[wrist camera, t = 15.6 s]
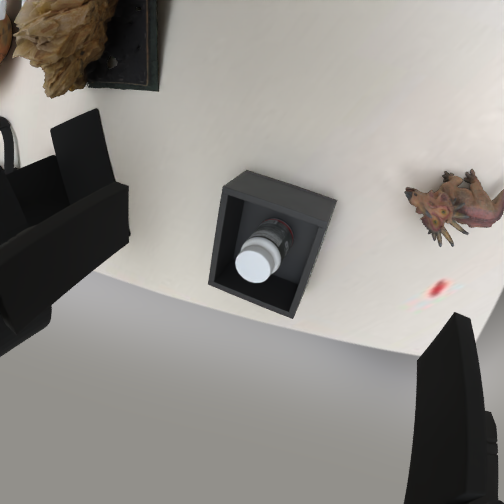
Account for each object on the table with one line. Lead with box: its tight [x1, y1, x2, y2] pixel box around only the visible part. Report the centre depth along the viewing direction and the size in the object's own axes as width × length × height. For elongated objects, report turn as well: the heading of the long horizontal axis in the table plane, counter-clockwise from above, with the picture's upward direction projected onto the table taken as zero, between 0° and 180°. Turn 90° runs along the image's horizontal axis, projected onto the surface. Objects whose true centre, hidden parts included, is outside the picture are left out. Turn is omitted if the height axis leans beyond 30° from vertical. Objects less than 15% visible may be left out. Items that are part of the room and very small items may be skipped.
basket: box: [208, 170, 337, 319], centre depth 39 cm, size 14×12×7 cm
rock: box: [12, 0, 159, 99], centre depth 26 cm, size 21×25×16 cm
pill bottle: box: [235, 218, 293, 283], centre depth 38 cm, size 5×5×8 cm
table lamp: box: [0, 109, 130, 357], centre depth 32 cm, size 26×28×40 cm
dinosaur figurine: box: [405, 169, 504, 247], centre depth 27 cm, size 14×6×9 cm, turn 103°
